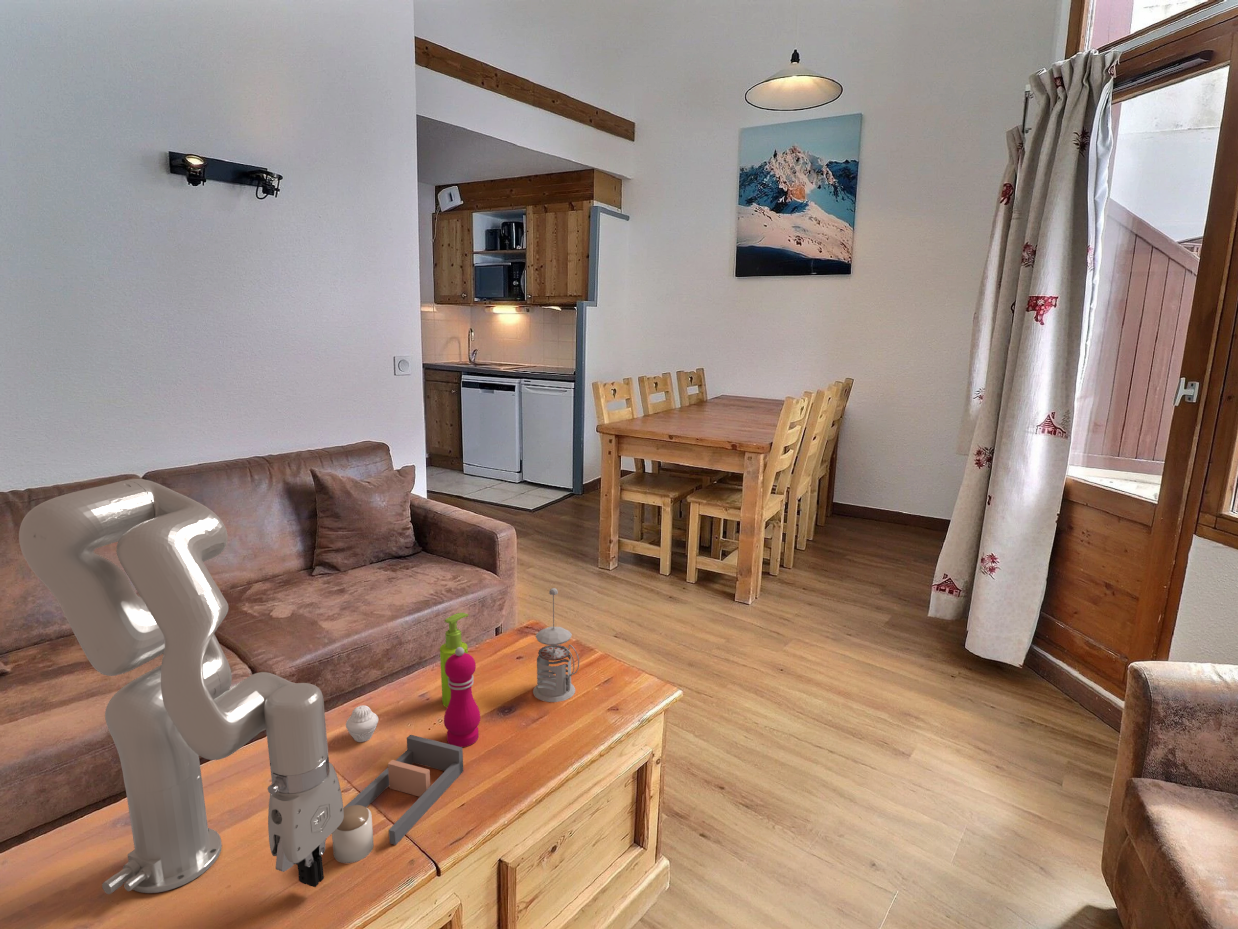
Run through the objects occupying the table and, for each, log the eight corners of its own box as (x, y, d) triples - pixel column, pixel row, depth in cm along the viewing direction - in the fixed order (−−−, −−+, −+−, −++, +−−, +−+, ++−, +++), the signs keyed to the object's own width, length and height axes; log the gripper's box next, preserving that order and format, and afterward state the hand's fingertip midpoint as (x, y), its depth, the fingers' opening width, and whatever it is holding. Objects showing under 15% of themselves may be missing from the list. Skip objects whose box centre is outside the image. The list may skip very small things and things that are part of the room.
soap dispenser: (478, 697, 155) (475, 614, 151) (455, 711, 150) (452, 625, 146) (459, 689, 159) (456, 608, 154) (436, 703, 153) (432, 619, 149)
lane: (395, 845, 111) (394, 818, 110) (338, 827, 115) (335, 800, 114) (463, 771, 130) (462, 747, 129) (411, 757, 134) (410, 734, 133)
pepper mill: (472, 751, 136) (469, 658, 132) (438, 746, 137) (434, 654, 133) (486, 730, 143) (483, 641, 139) (454, 726, 144) (450, 637, 140)
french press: (552, 675, 165) (551, 577, 160) (590, 691, 159) (590, 588, 154) (523, 692, 158) (522, 590, 152) (562, 709, 151) (562, 602, 146)
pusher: (426, 798, 122) (425, 773, 121) (389, 788, 125) (387, 763, 124) (430, 794, 123) (429, 769, 122) (393, 784, 126) (392, 759, 125)
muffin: (346, 749, 136) (343, 717, 135) (347, 732, 142) (345, 701, 140) (379, 743, 138) (377, 712, 137) (379, 726, 144) (377, 696, 142)
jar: (356, 867, 107) (353, 834, 106) (325, 857, 109) (322, 824, 108) (381, 841, 112) (379, 808, 111) (351, 831, 114) (349, 799, 113)
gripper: (279, 811, 90) (292, 929, 94) (358, 746, 104) (366, 852, 108) (236, 798, 93) (250, 913, 96) (318, 736, 106) (328, 839, 110)
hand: (311, 880), depth 102 cm, fingers closed
